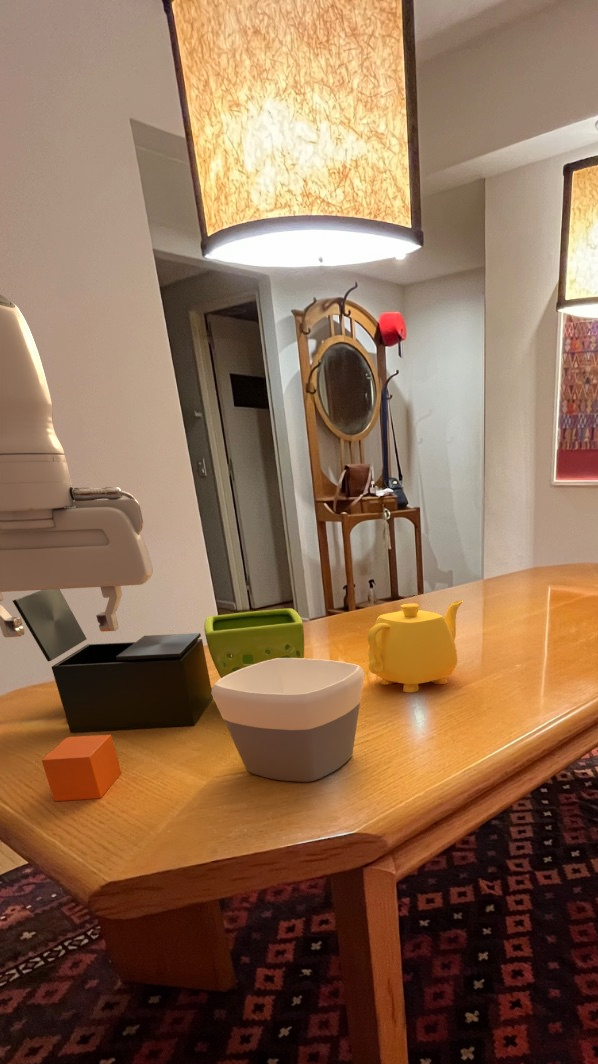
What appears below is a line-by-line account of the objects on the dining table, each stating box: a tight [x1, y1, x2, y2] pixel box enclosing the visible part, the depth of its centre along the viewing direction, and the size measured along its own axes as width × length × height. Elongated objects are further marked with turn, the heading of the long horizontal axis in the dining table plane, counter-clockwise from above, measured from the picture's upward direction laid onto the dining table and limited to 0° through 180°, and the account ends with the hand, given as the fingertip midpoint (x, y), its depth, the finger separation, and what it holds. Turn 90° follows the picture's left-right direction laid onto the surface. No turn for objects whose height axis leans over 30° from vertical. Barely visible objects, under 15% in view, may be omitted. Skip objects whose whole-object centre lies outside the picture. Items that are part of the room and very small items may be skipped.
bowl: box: [211, 657, 365, 783], centre depth 80 cm, size 15×15×11 cm
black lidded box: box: [51, 632, 214, 734], centre depth 99 cm, size 17×13×10 cm
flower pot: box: [203, 607, 305, 679], centre depth 103 cm, size 14×14×13 cm
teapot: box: [367, 599, 464, 693], centre depth 111 cm, size 14×20×13 cm
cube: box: [41, 734, 122, 802], centre depth 77 cm, size 7×5×5 cm
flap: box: [12, 589, 88, 663], centre depth 94 cm, size 8×13×1 cm
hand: (62, 633), depth 71 cm, fingers open, 8 cm apart
